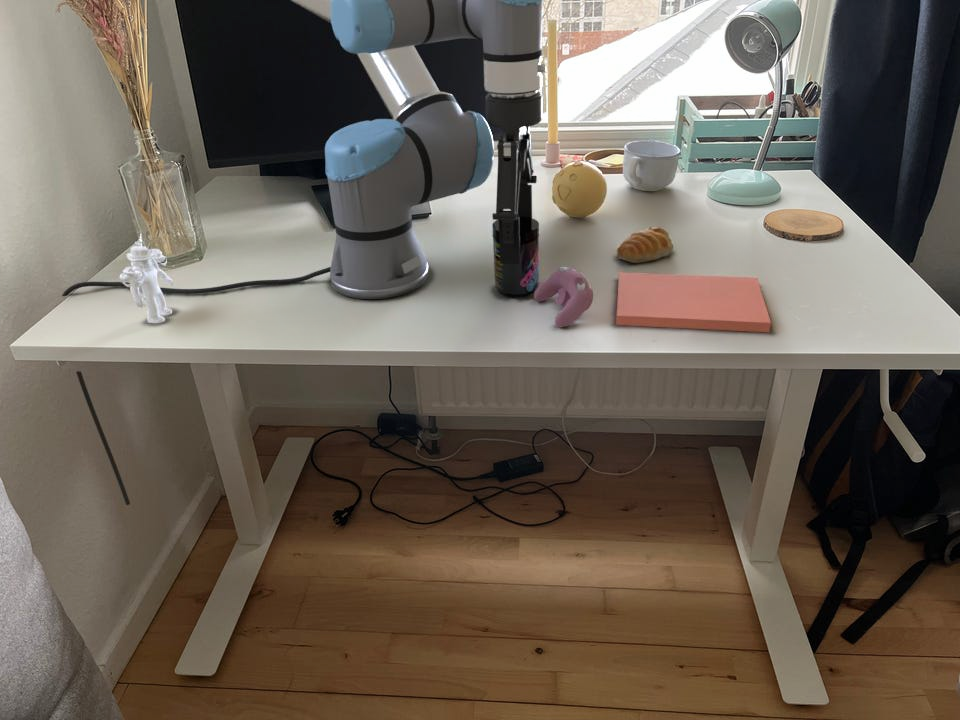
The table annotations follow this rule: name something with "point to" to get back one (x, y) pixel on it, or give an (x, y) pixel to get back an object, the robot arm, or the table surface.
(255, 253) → the table surface
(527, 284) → the supplement container
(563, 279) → the video game controller
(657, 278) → the foam mat
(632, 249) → the pastry
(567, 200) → the stress ball
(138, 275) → the hat wearing toy figure
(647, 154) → the teacup
